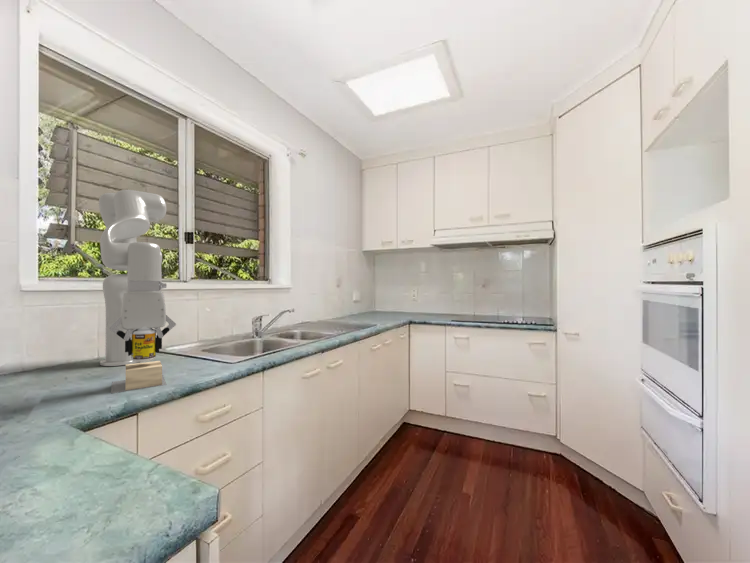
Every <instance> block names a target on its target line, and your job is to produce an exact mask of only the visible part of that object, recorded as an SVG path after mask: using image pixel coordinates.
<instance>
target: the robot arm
mask: <svg viewBox="0 0 750 563" xmlns="http://www.w3.org/2000/svg"><path fill="white" fill-rule="evenodd" d="M98 209H99V213H100V216H101V219H102V221H103V223H104V226H105V229H104V230H103V232H102V233H101V236H100V240H99V241H100V242H99V244H100V258H101V261H102V264H103V265H104V267H106V268H108V269H111V270H116V271H126V272H127V273H122V274H121V273H118V274H117V273H116V274H115V273H114V274H111V275H108V276H107V277H105V278H104V279H103V281H102V292H103V296H104V297H103V299H104V304H105V307H104V308H105V355H104V356H105V358H104V359H101V360H100V361H99V365H100V366H102V367H117V366H126V364H135V363H139V362H134V361H132V360H131V355H132V332H133V331H134V330H136V329H140V328H142V327H144V326H145V327H147V328H150V329H155V330H156V353H160V350H162V349H163V337H164V336H165V335H167V333H169V332H170V331H171V330H172V329H173V328H175V327H176V326H177V323H176V322H175V321H174V320H172V319H171V318H170V317H169V316H168V315H167V313H166V310H167V309H166V302H165V294H164V292H162V290H163V289H167V283H164V282H162V280H163V278H162V275H163V274H162V263H163V253H162V251H161V247H160V245H159V244H157V243H154V242H144V241H142V242H141V241H138V240H137V239H138V238H139V237H140V236H143V235H145V234H146V233H147V232H148V231H149V230H150V227H151V226H150V225H151V223H150V222H158V221H160V220H162V219H164V218H165V217H166V214H167V203H166V201H165V199H164V197H163V196H162V195H160V194H157V193H152V192H146V191H141V190H140V191H139V190H135V189H122V190H119V191H117V192H105V193H102V194H101V195H100V197H99V199H98ZM166 324H167V326H166ZM165 326H166V327H165ZM163 327H164V328H163Z"/></svg>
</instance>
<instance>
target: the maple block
mask: <svg viewBox="0 0 750 563" xmlns="http://www.w3.org/2000/svg"><path fill="white" fill-rule="evenodd" d="M162 375H163V365H162V363H161V360H156V361H155V360H151V361H144V362H138V363H133V364H126V365H125V380H126V390H129V389H136V388H142V387H149V386H156V385H162Z"/></svg>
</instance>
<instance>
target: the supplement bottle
mask: <svg viewBox="0 0 750 563" xmlns="http://www.w3.org/2000/svg"><path fill="white" fill-rule="evenodd" d="M156 335H157V333H156V330H155V328H152V329H150V328H147V327H145V326H144V327H142V328H140V329H136V330H134V331H133V332H132V355H131V360H132V361H134V362H138V363H144V362H151V361H154V360H155V358H156V356H157V354H156V353H157V352H156Z"/></svg>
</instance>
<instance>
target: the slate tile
mask: <svg viewBox="0 0 750 563" xmlns="http://www.w3.org/2000/svg"><path fill="white" fill-rule="evenodd" d="M162 386H167V382H166V379H165V376H164V375H163V374H162V385H156V386H149V387H142V388H136V389H129V390H126V379H124V380H117V381H112V383H111V387H110V394H115V393H117V394H118V393H124V392H129V391H135V390H143V389H149V388H156V387H162Z"/></svg>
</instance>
